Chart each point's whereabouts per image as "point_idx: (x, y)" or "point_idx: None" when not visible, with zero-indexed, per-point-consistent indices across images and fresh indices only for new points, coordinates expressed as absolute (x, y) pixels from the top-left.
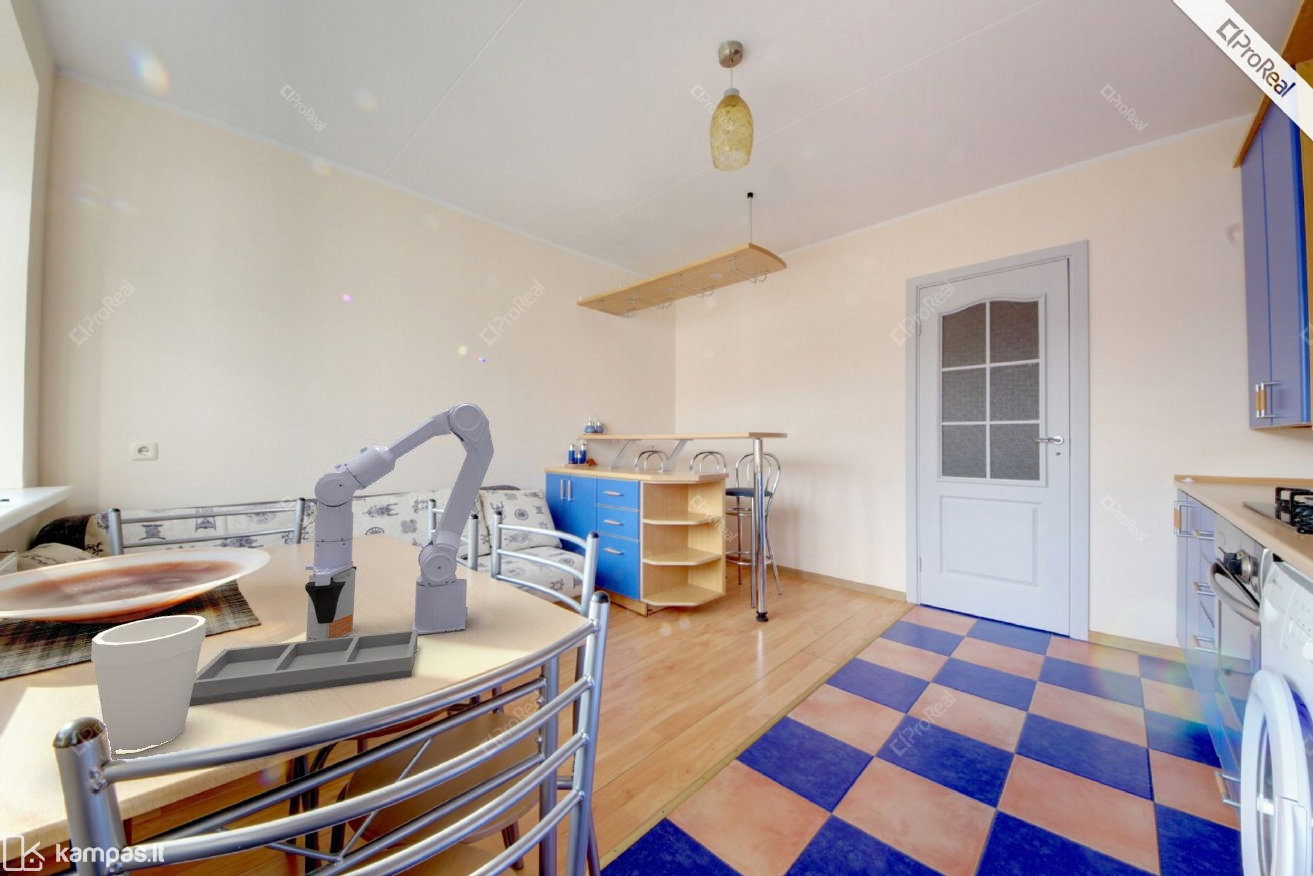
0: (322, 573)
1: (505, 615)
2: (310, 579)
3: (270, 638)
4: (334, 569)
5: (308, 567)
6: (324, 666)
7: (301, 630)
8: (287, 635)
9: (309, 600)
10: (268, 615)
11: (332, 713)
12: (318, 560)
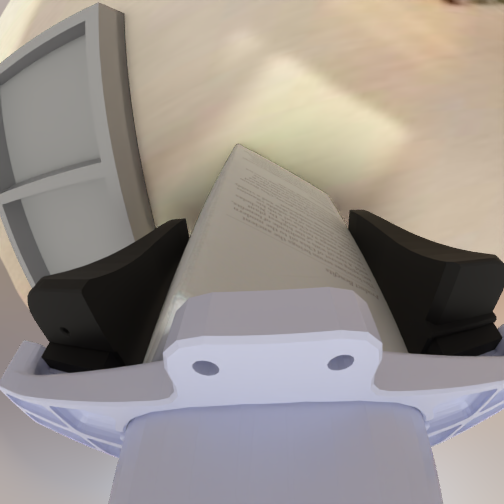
0: (21, 408)
1: None
2: (179, 279)
3: (337, 25)
4: (100, 450)
5: (170, 359)
6: (27, 277)
7: (386, 94)
8: (353, 64)
9: (210, 199)
10: (498, 24)
11: (13, 281)
12: (112, 488)
